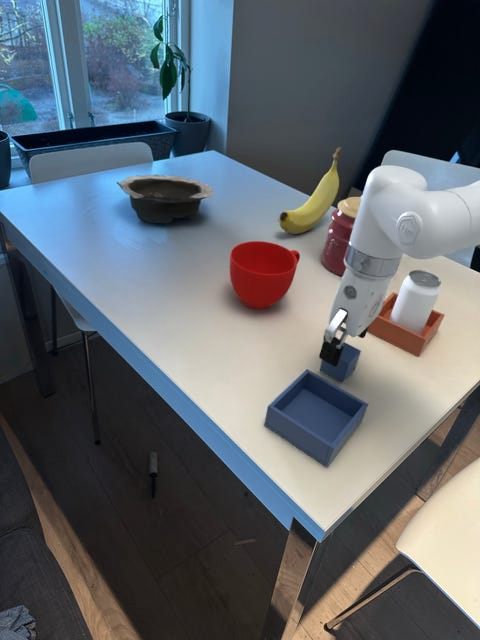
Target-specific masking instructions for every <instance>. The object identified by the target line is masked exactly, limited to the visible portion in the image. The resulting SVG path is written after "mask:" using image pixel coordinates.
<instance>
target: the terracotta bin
mask: <svg viewBox="0 0 480 640" xmlns="http://www.w3.org/2000/svg"><path fill="white" fill-rule="evenodd" d="M398 294H399V293H396V292H394V291H393V292H392V293H391V294H390V295H389V296H388V297H386V298H385V300H384V303H383V306H382V309H381V311H380V313H379V315H378V316H377V317H376V318H375V320H374V321H373V322H372V323H371V324H370V325H369V327H368V330H367V333H369V334H371V335H374V336H376V337H378V338H380V339H382V340H384V341H385V342H388V343H390V344H392V345H394V346H395V347H397V348H400V349H402V350H403V351H406V352H408V353H410V354H412V355H414V356H416V357H420V355H421V354H422V352H423V351H424V350H425V348H426V347H427V346H428V344H429V343H430V342H431V340H432V339H433V337H434V336H435V335H436V333H437V332H438V330H439V328H440V326H441V324H442V322H443V320H444V317H445V316H446V315H445V314H444V313H442V312H439V311H437V310H435V309H432V311H431V313H430V316H429V318H428V320H427V322H426V324H425V327H424V329H423V331H422V333H421V335H419V334H417V333H415V332H413V331H411V330H408V329H406V328H404V327H402V326H400V325H398V324H396V323H394V322H391V321H389V318H390V315H391V313H392V310H393V307H394V305H395V302H396V300H397V297H398Z"/></svg>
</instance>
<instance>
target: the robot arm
mask: <svg viewBox="0 0 480 640" xmlns="http://www.w3.org/2000/svg"><path fill="white" fill-rule="evenodd" d="M361 196H362V199H361V202H360V206H359V209H358V213H357V216H356V219H355V223H354V226H353V230H352V233H351V237H350V240H349V244H348V247H347V250H346V254H345V257H344V264H345V266H346V267H347V268H346V270H345V272H344V275H343V276H342V278H341V279H340V283H339V285H338V287H337V291H336V293H335V296H334V300H333V302H332V304H331V305H332V306H331V309H330V311H329V317H328V325H327V327H326V328H325V329H324V333H323V339H322V345H321V347H320V348H321V349H320V351H319V355H318V357H319V359H320V360H321V361H322V360H324V361H325V362H327V363H329V364H331V365H332V366H334V367H336V366H337V365H338V363H339V360H340V358H341V355H342V352H343V349H344V347H343V346H342V345H343V343H344V342H346V339H347V338H348V336H350V337H351V338H356V337H358V338H360V339H364V338H365V337H366V335H367V333H368V332H367V330H368V327H369V325H370V324H371V323H372V322H373V321H374V320H375V318H376V317H377V316H378V315H379V313H380V311H381V309H382V306H383V303H384V301H385V300H386V296H387V293H388V290H389V287H390V283H391V280H392V278H394V277H395V276H396V274H397V271H398V269H399V266H400V263H401V260H402V258H403V255H406V256H407V257H409V258H412V259H413V260H414V259H415V260H431V259H434V258H437V257H442V256H445V255H449V254H452V253H455V252H458V251H461V250H465V249H468V248H469V249H470V248H474V247H477V246H480V179H479V180H477V181H475V182H472V183H471V184H468V185H465V186H458V187H453V188H447V189H442V190H428V183H427V179H426V177H425V176H423V175H422V174H421V173H419V172H418V171H416V170H413V169H411V168H409V167H408V168H407V167H405V166H399V165H389V164H387V165H379V166H377V167H375V168H374V169H372V170H371V171H370V173H369V174H368V176H367V179H366V182H365V185H364V188H363V193H362V194H361ZM343 324H345V327H343ZM338 331H340V332H342V334H341V336H340V338H338V336H337V333H338Z"/></svg>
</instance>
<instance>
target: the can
mask: <svg viewBox="0 0 480 640" xmlns="http://www.w3.org/2000/svg"><path fill="white" fill-rule="evenodd" d="M441 284H442V280H441V279H440V277H438V276H437V275H436V274H435V273H432V272H429V271H426V270H421V269H415V270H410V272H409V273H408V275H407V276H406V277H405V278H404V280H403V282H402V284H401V287H400V289H399V292H398V293H397V294H398V297H397V300H396V302H395V305H394V307H393V310H392V313H391V315H390V318H389V321H391V322H394V323H396V324H398V325H400V326H402V327H404V328H406V329H408V330H411V331H413V332H415V333H417V334H419V335H421V333H422V331H423V329H424V327H425V324H426V322H427V320H428V318H429V316H430V313H431V311H432V309H433V308H434V307H435V304H436V302H437V299H438V297H439V295H440V292H441ZM433 310H434V309H433Z"/></svg>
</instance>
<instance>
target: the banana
mask: <svg viewBox="0 0 480 640" xmlns="http://www.w3.org/2000/svg"><path fill="white" fill-rule="evenodd" d="M342 150H343V149H342V147H341V146H340V147H339V146H338V147H337V148H336V149H335V151H334V153H333V154H332V158H333V162H332V165H331V167H330V169H329V170H328V172H326V173H325V174H324V176H322V179H321V180H320V182H319V183H318V184H317V186H316V188H315V190H314V191H313V193H312V194H311V196H310V197H309V198H308V200H307V201H306V202H305V203H304V204H303V205H301V206H300V207H298V208H296V209H292V210H291V209H289V210H284V211H282V212H281V213H280V214H279V217H278V224H279V228H281V230H283V231H284V232H286V233H289V234H294V235H295V234H296V235H298V234H302V233H306V232H307V231H309V230H310V229H312V228H314V227H315V226H316V225H317V224H318V223H319V222H321V220H322V219H323V218H324V216H326V214H327V213H328V211H329V209H331V207H332V205H333V203H334V201H335V200H336V197H337V195H338V191H339V187H340V178H339V174H338V170H337V166H338V161H339V159H340V157H341V155H342Z"/></svg>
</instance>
